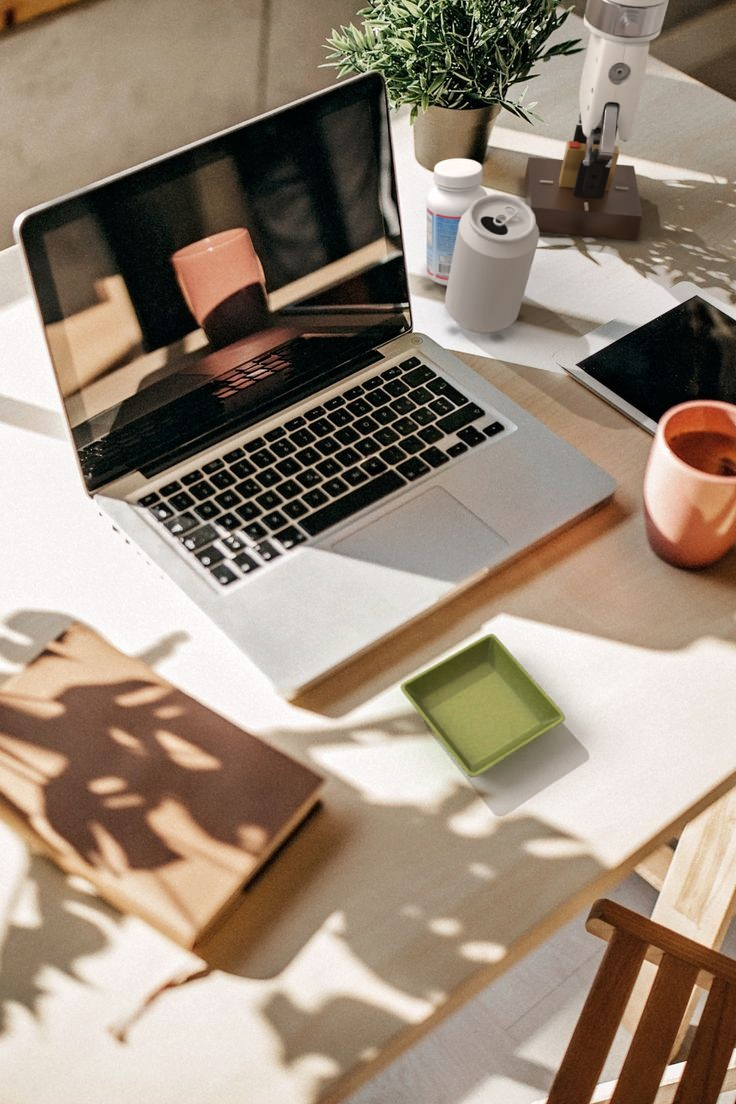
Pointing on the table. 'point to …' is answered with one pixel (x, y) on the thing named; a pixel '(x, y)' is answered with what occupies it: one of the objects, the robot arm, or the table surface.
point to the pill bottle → (449, 211)
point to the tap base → (582, 203)
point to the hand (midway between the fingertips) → (585, 177)
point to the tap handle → (572, 161)
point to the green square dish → (482, 704)
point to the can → (491, 263)
